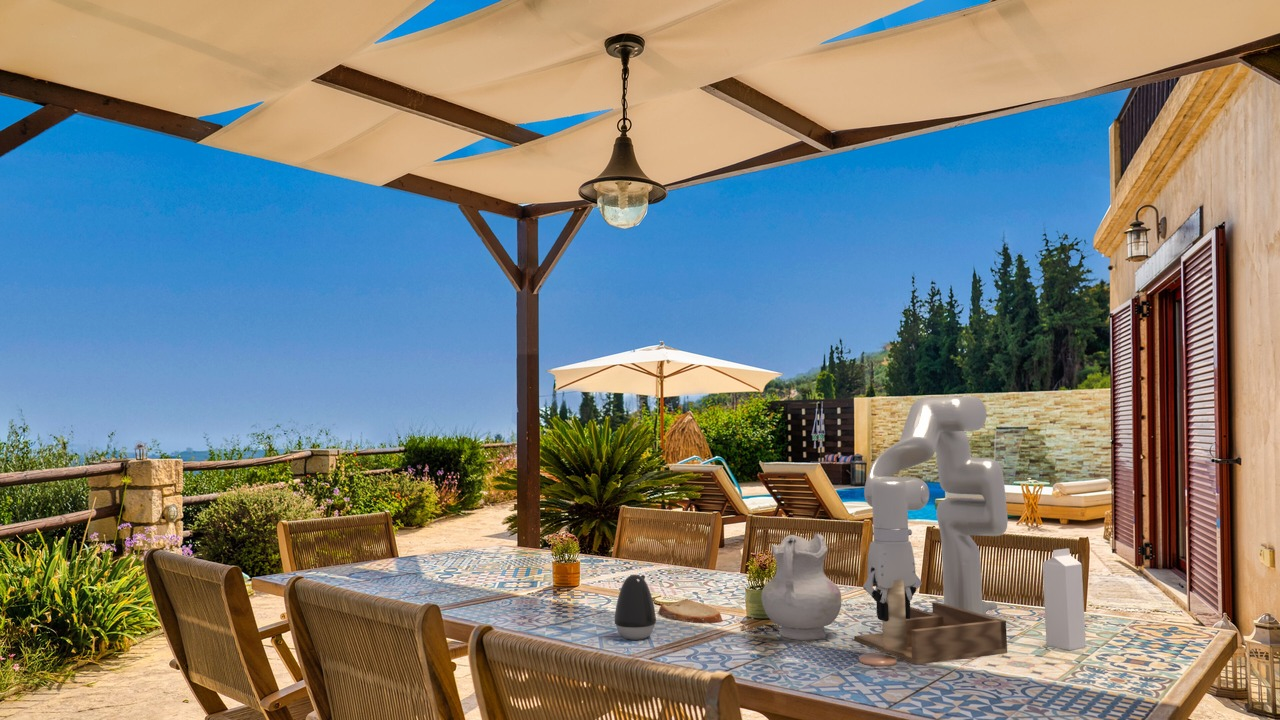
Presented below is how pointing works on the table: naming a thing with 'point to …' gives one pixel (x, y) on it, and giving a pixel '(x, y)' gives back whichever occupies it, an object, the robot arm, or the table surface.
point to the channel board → (946, 635)
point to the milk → (1064, 601)
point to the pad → (877, 659)
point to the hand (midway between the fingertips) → (893, 618)
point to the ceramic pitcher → (801, 589)
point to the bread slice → (690, 612)
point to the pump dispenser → (635, 609)
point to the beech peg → (895, 619)
